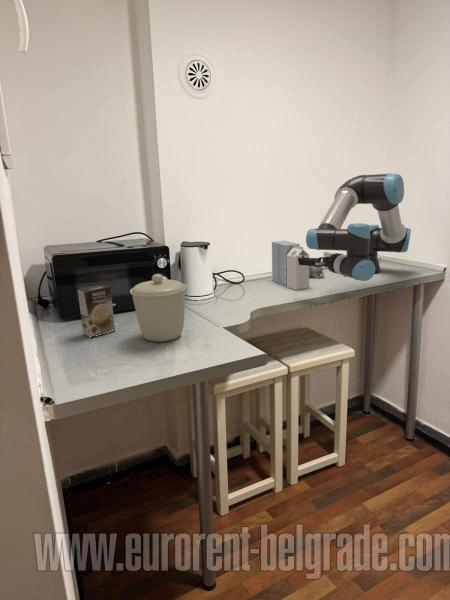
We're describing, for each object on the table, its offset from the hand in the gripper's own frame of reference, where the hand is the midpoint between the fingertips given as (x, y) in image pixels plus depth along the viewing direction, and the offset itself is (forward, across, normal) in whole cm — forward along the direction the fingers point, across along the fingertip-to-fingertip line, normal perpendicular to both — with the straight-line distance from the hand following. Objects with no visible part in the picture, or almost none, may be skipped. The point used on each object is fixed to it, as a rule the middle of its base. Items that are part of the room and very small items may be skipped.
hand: (310, 256), depth 181 cm
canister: (-22, -70, -17) cm, 75 cm away
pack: (+23, 0, -16) cm, 28 cm away
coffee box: (-8, -88, -17) cm, 91 cm away
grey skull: (+26, +19, -16) cm, 36 cm away
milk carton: (+11, 0, -16) cm, 20 cm away
